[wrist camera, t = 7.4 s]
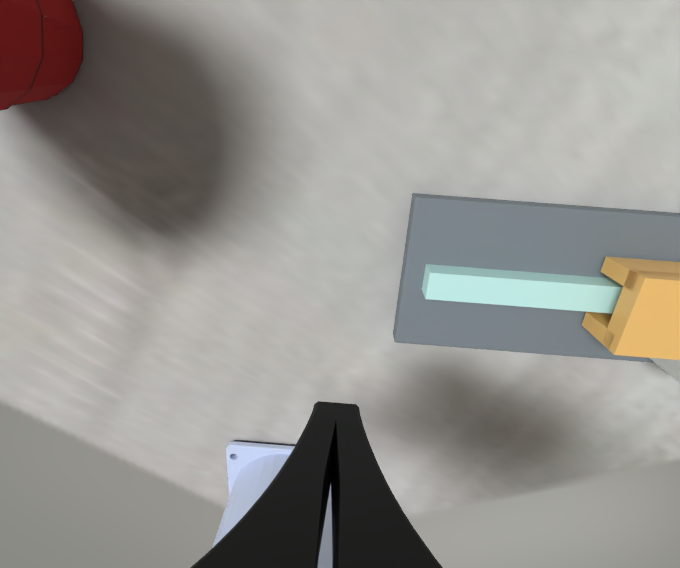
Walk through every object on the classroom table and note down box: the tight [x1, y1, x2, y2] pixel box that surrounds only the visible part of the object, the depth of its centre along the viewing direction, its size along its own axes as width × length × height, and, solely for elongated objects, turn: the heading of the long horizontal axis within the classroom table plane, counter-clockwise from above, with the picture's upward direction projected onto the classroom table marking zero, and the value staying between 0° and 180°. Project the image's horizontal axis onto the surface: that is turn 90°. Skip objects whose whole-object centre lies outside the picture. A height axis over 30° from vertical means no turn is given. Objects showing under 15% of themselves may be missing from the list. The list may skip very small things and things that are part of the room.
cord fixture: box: [393, 193, 680, 383], centre depth 19 cm, size 8×20×4 cm, turn 86°
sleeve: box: [582, 256, 680, 360], centre depth 18 cm, size 4×4×3 cm
